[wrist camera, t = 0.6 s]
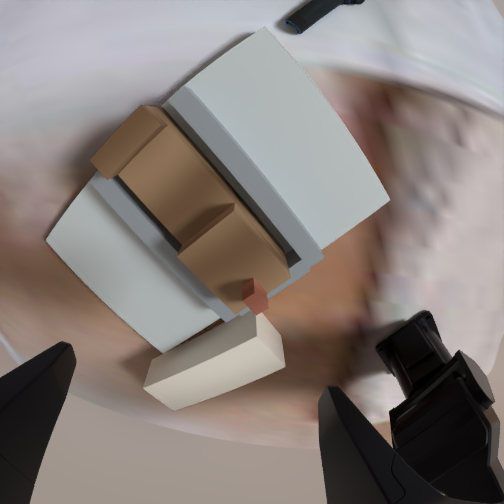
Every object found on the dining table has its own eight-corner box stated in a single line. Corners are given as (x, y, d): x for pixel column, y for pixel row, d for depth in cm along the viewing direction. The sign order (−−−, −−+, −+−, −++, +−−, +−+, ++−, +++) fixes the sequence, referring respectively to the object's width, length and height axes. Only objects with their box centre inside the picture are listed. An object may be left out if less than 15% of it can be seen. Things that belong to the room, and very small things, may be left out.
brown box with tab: (283, 247, 20) (294, 292, 15) (237, 280, 21) (234, 330, 16) (163, 107, 16) (129, 103, 11) (119, 150, 17) (75, 165, 12)
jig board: (383, 195, 20) (403, 208, 17) (166, 344, 25) (158, 370, 22) (264, 31, 15) (267, 15, 12) (52, 234, 20) (32, 250, 17)
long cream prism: (280, 333, 25) (285, 366, 21) (179, 380, 28) (173, 411, 24) (255, 303, 24) (256, 336, 20) (152, 357, 26) (142, 388, 23)
